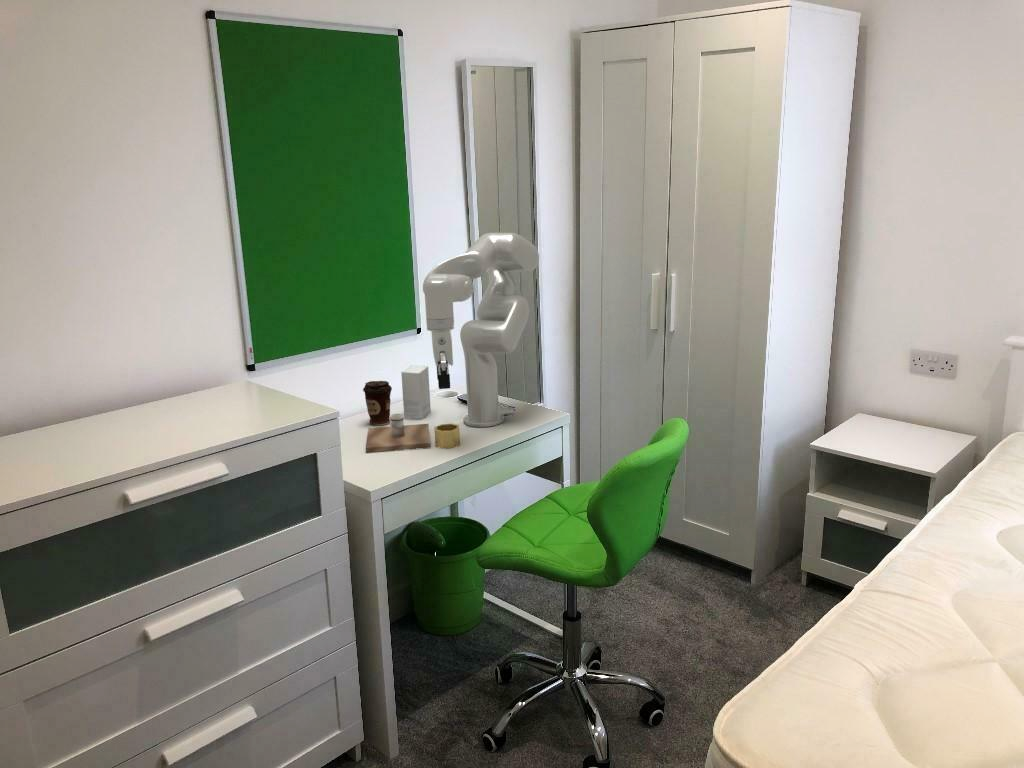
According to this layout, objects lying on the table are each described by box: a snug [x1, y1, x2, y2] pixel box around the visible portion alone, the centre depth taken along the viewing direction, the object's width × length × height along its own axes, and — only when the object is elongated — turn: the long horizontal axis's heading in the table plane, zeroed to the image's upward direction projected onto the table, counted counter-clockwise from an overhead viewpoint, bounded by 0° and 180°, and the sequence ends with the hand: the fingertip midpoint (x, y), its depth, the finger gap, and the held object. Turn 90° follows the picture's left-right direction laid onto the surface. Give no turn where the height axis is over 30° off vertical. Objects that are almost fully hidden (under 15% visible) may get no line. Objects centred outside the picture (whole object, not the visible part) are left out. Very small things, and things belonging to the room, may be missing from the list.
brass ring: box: [433, 423, 462, 449], centre depth 236 cm, size 7×7×5 cm
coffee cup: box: [362, 380, 393, 426], centre depth 257 cm, size 9×8×13 cm
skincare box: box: [400, 364, 432, 420], centre depth 263 cm, size 8×7×16 cm
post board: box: [365, 413, 431, 454], centre depth 241 cm, size 18×18×8 cm
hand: (443, 384), depth 232 cm, fingers open, 9 cm apart
